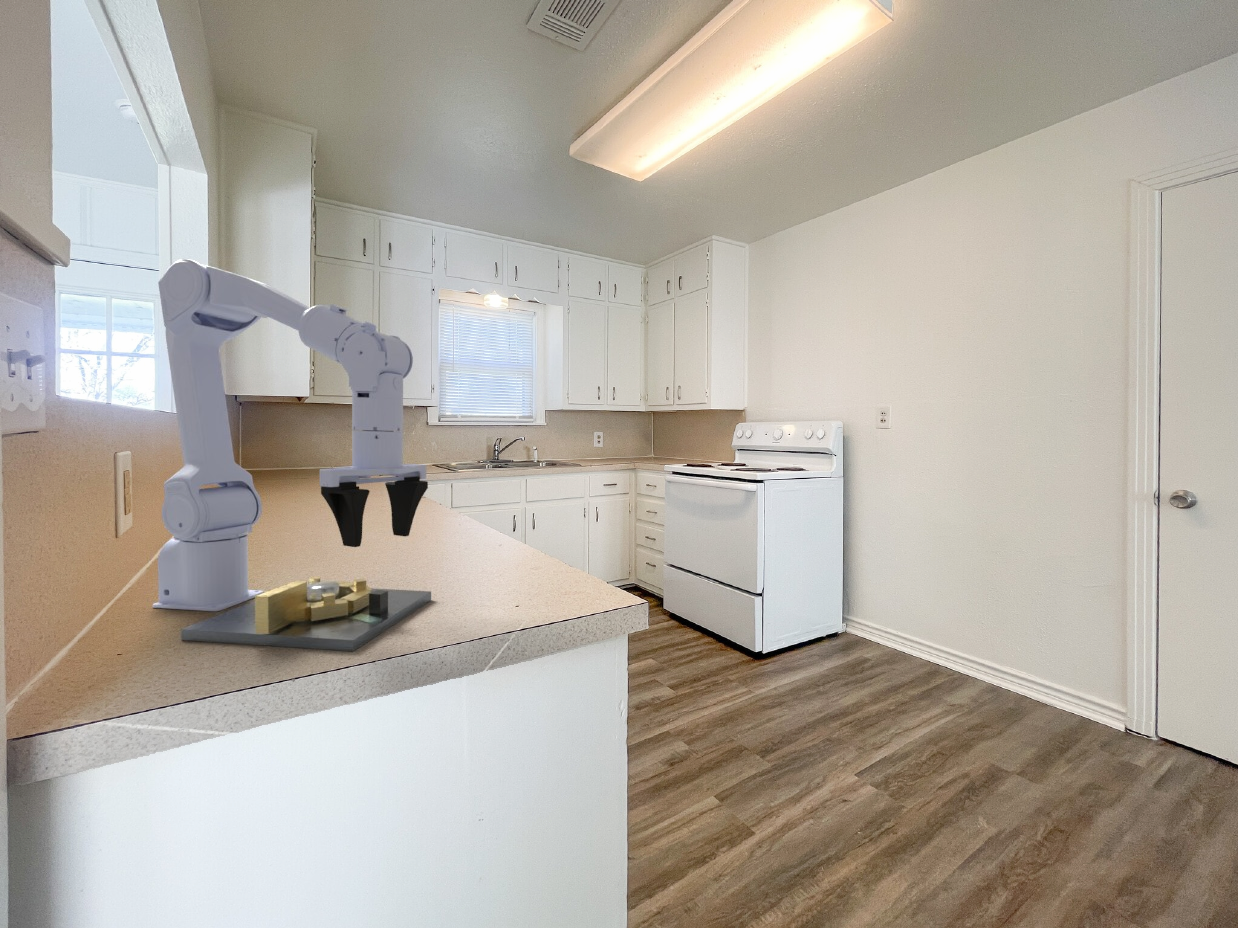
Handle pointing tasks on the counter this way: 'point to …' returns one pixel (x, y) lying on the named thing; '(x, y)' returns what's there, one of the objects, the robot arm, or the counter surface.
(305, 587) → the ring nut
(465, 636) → the counter surface
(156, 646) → the counter surface
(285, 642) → the dark gray base plate
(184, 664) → the counter surface
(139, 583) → the counter surface
